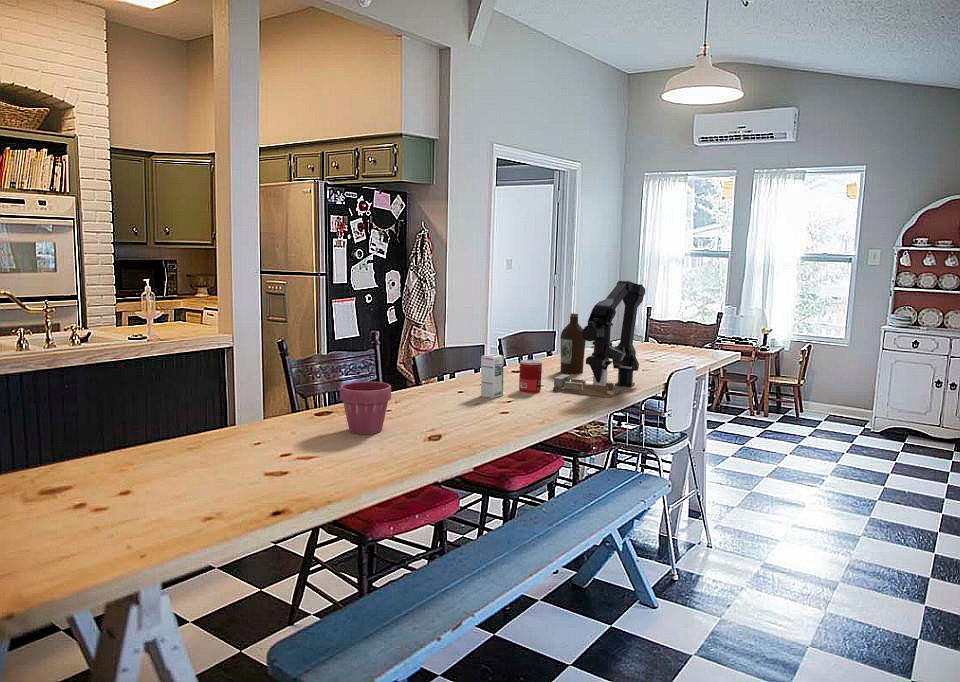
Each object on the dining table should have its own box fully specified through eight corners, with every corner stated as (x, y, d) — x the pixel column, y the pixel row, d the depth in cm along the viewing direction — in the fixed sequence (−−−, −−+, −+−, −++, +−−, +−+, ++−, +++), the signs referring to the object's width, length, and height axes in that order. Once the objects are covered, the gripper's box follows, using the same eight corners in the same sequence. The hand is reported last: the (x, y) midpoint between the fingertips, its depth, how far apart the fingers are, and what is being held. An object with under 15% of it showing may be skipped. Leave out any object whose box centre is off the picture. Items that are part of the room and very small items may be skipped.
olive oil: (572, 369, 312) (574, 312, 308) (589, 373, 303) (592, 314, 300) (553, 371, 305) (556, 312, 302) (570, 375, 297) (573, 315, 294)
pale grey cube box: (584, 386, 267) (585, 367, 266) (606, 388, 263) (607, 369, 263) (578, 389, 261) (579, 370, 260) (601, 392, 257) (602, 372, 256)
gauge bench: (562, 385, 274) (563, 374, 273) (619, 392, 265) (620, 380, 264) (552, 390, 264) (553, 378, 264) (611, 397, 255) (611, 385, 254)
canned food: (541, 393, 258) (542, 363, 257) (519, 392, 259) (520, 362, 257) (540, 389, 266) (541, 359, 265) (518, 388, 266) (519, 359, 265)
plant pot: (335, 425, 204) (335, 381, 203) (383, 422, 210) (384, 379, 208) (345, 438, 191) (345, 391, 190) (396, 435, 196) (397, 389, 195)
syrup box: (493, 398, 247) (494, 357, 246) (479, 395, 251) (481, 355, 249) (503, 396, 252) (504, 355, 250) (489, 393, 255) (490, 353, 254)
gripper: (617, 343, 248) (614, 388, 250) (630, 338, 264) (628, 379, 266) (586, 341, 253) (584, 384, 255) (601, 335, 269) (599, 376, 271)
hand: (600, 381), depth 262 cm, fingers closed on pale grey cube box, 4 cm apart
